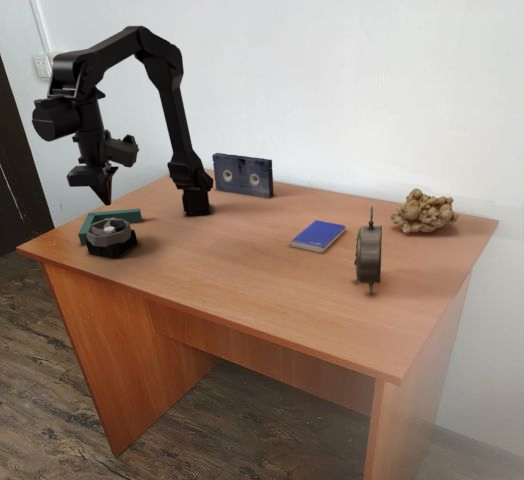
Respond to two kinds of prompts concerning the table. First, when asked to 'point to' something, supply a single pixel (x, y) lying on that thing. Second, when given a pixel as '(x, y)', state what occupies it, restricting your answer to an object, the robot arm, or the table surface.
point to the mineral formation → (424, 212)
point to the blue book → (318, 236)
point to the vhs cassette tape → (243, 174)
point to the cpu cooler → (110, 237)
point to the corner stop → (91, 218)
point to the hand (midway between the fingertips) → (108, 205)
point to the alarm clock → (369, 254)
